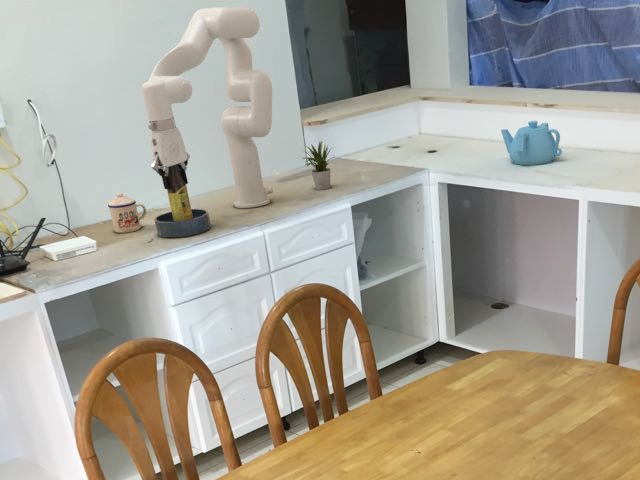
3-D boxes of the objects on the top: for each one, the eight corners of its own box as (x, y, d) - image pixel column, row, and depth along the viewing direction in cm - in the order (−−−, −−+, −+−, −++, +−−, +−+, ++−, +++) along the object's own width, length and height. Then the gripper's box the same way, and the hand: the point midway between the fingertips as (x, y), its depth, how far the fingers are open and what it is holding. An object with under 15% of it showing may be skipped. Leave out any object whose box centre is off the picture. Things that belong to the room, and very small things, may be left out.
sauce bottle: (189, 227, 299) (175, 162, 288) (172, 228, 300) (156, 163, 289) (197, 221, 304) (183, 157, 293) (180, 222, 306) (165, 158, 294)
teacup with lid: (119, 234, 306) (110, 198, 300) (110, 230, 313) (101, 194, 307) (153, 227, 311) (145, 191, 305) (144, 223, 318) (136, 187, 312)
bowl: (185, 222, 313) (182, 207, 310) (221, 226, 304) (219, 210, 301) (146, 236, 301) (143, 220, 299) (183, 240, 292) (180, 224, 290)
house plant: (304, 185, 349) (298, 138, 340) (341, 181, 348) (335, 134, 339) (301, 193, 337) (294, 145, 328) (339, 189, 336) (333, 141, 327)
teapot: (549, 153, 359) (549, 114, 351) (566, 162, 343) (566, 121, 335) (501, 160, 357) (500, 121, 349) (516, 169, 341) (515, 128, 333)
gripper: (150, 131, 278) (164, 194, 288) (191, 119, 290) (203, 180, 299) (133, 131, 282) (148, 192, 292) (174, 119, 293) (187, 179, 303)
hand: (176, 185), depth 296 cm, fingers closed on sauce bottle, 6 cm apart
